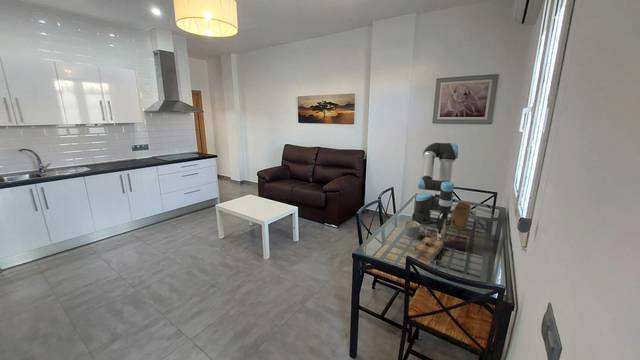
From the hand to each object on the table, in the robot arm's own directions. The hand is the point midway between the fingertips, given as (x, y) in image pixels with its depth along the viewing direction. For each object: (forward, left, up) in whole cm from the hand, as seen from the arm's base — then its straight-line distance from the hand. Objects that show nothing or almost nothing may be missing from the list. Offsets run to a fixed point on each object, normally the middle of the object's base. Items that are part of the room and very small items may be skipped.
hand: (440, 235), depth 178 cm
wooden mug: (-14, +55, -6) cm, 57 cm away
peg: (0, 0, -5) cm, 5 cm away
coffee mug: (-17, -4, -6) cm, 19 cm away
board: (-2, -15, -5) cm, 16 cm away
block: (+4, +31, -6) cm, 32 cm away
